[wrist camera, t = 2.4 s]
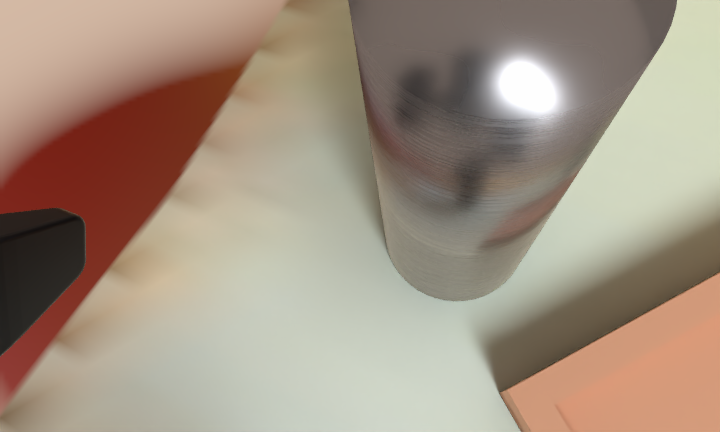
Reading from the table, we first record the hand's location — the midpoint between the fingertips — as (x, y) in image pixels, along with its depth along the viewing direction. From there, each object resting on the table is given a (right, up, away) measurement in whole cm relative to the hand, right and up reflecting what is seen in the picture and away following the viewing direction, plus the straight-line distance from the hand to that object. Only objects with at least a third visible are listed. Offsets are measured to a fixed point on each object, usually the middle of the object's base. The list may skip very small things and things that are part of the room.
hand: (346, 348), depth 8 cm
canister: (+4, +1, +13) cm, 14 cm away
